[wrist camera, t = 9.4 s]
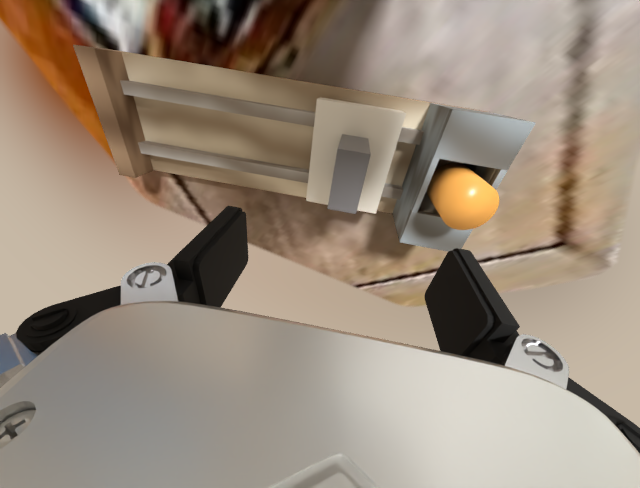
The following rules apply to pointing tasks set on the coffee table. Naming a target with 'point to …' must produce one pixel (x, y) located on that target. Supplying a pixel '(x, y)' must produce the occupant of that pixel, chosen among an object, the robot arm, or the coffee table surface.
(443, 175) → the button
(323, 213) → the coffee table surface
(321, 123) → the carriage
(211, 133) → the rail bed
